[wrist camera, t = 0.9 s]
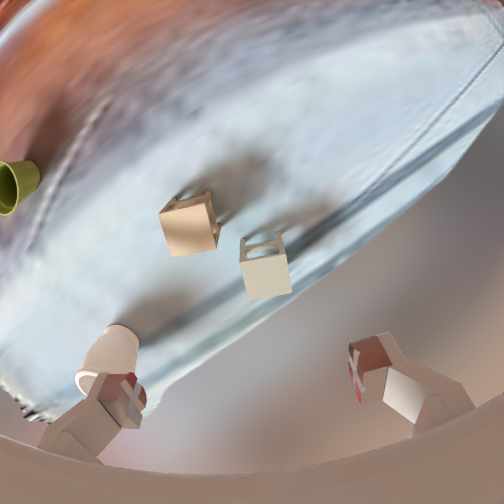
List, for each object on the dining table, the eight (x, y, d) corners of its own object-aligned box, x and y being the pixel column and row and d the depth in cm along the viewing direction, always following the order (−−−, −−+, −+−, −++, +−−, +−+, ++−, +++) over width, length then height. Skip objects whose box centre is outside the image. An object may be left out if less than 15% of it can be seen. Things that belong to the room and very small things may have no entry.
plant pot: (51, 196, 43) (23, 211, 35) (19, 203, 43) (-8, 219, 35) (43, 146, 39) (12, 154, 31) (10, 158, 39) (-19, 168, 31)
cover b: (240, 239, 48) (239, 262, 40) (279, 231, 47) (285, 253, 40) (248, 273, 50) (248, 300, 43) (285, 266, 50) (292, 292, 43)
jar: (101, 313, 54) (71, 363, 40) (147, 329, 56) (126, 384, 42) (100, 347, 58) (77, 395, 45) (142, 361, 60) (124, 414, 46)
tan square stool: (172, 198, 44) (158, 214, 37) (211, 189, 44) (204, 203, 37) (182, 235, 47) (171, 257, 40) (220, 227, 47) (216, 248, 39)
